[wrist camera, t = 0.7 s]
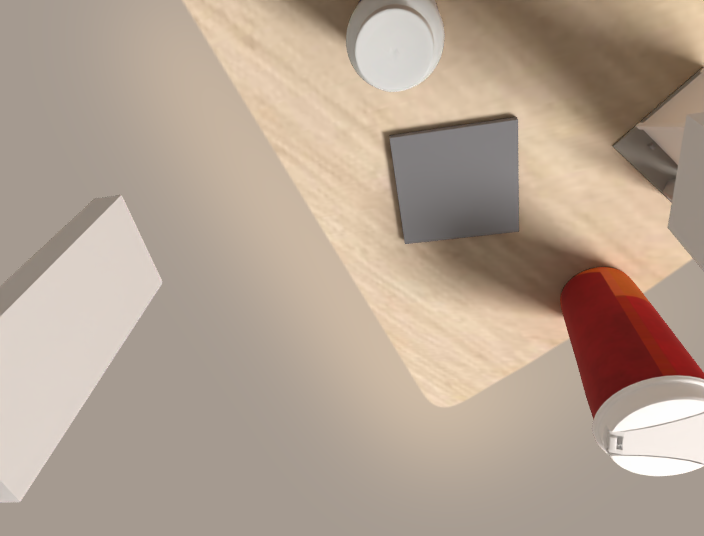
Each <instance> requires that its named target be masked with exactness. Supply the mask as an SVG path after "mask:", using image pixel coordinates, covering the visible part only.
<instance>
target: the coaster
mask: <svg viewBox="0 0 704 536" xmlns="http://www.w3.org/2000/svg"><path fill="white" fill-rule="evenodd" d="M390 145H391V152H392V158H393V165H394V172H395V179H396V186H397V193H398V200H399V207H400V213H401V220H402V227H403V234H404V241H405V244H410V243H419V242H429V241H438V240H447V239H456V238H465V237H474V236H483V235H492V234H501V233H510V232H519V184H518V119H517V117H512V118H506V119H499V120H492V121H485V122H478V123H471V124H464V125H458V126H451V127H444V128H437V129H430V130H423V131H417V132H410V133H403V134H396V135H390Z"/></svg>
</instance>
